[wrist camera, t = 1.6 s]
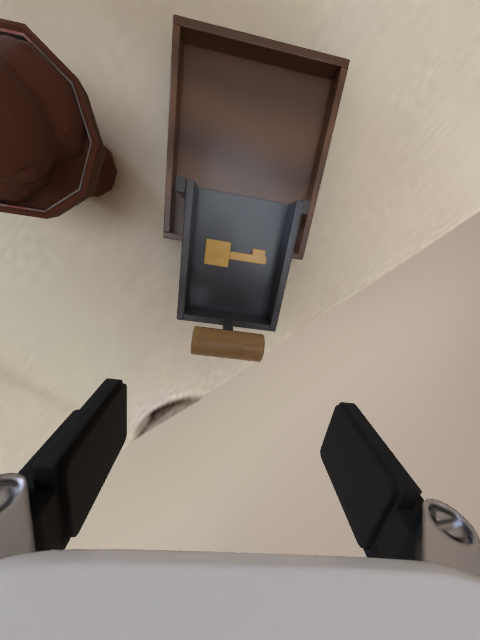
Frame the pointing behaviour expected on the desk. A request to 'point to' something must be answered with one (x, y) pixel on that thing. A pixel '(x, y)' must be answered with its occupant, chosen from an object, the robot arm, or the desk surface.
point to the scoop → (234, 269)
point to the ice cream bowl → (45, 131)
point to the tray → (248, 119)
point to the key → (229, 254)
